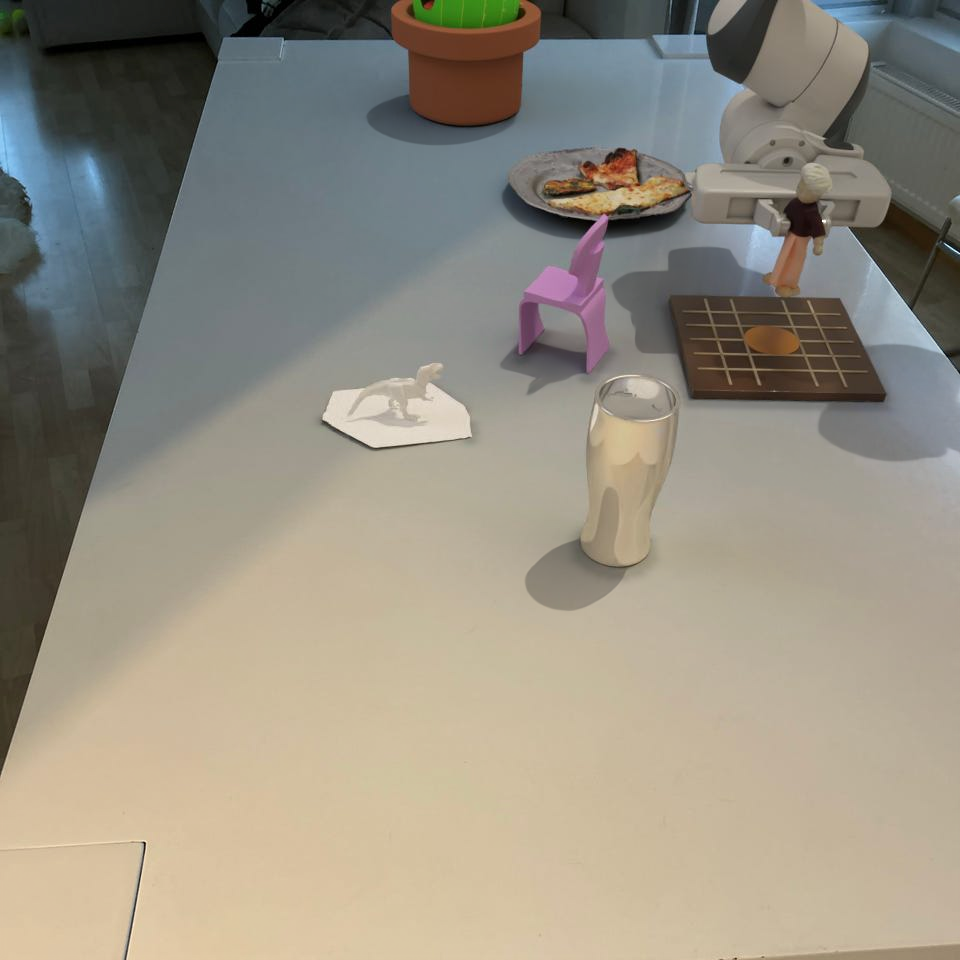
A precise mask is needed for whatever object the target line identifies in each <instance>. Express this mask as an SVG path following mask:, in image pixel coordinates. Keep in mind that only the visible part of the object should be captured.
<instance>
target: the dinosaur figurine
mask: <svg viewBox="0 0 960 960" xmlns="http://www.w3.org/2000/svg"><path fill="white" fill-rule="evenodd" d="M443 370H444V365H443V364H442V363H441V362H436V363H435V362H432V363H430V364H427V365H423V366H419V369H418V371H417V373H416V379H414V378H412V377H408V378H400V377H398V376H397V377H393V378H392V377H391V378H390V379H383V380H380V381H377V382H374V383H372V384H371V385H368V386H366V387H364V388H354V389H340V390H333V392H332V395H331V396H330V398H329V401H328V405H327V406H326V409H325V411H324V413H323V414H322V421H324V422H327V423H328V424H329V425H330V426H331V427H334V428H335V429H337V430H339V431H341V432H342V433H344V434H346V435H348V436H350V437H352V438H354V439H356V440H357V441H360V442H361V443H364V444H365V445H367V446H369V447H371V448H375V449H376V448H377V449H378V448H385V447H395V446H405V445H414V444H417V445H418V444H422V443H423V444H426V443H434V442H443V441H452V440H459V439H466V438H473V434H472V431H471V416H470V414H469V412H468V410H467V408H466V406H465V405H464V404H462V403H461V402H459V401H458V400H456V399H455V398H453V397H452V396H451V395H449V394H448V393H446V392H445V391H444V390H442V389H440V388H439V387H437V386H436V385H435V384H433V383H432V382H431V381H432V380H439V379H442V375H440V374H438V373H439V372H441V371H443Z"/></svg>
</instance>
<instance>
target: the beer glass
mask: <svg viewBox="0 0 960 960" xmlns="http://www.w3.org/2000/svg"><path fill="white" fill-rule="evenodd" d="M681 400H682V399H681V396H680V394H679V392H678V391H677V389H676V388H675V387H674V386H673V385H672V384H670V383H668V381H665V380H663V379H661V378H658V377H656V376H652V375H648V374H643V373H642V374H641V373H623V374H617V375H613V376H611V377H608V378H606V379H604V380H603V381H601V383H599V384H598V386H597V387H596V389H595V392H594V399H593V404H592V409H591V411H590V417H589V423H588V429H587V436H586V444H585V445H586V447H585V467H586V479H587V490H588V512H587V516H586V519H585V522H584V525H583V528H582V530H581V534H580V541H579V542H580V546H581V549H582V551H583V552H584V553H585V555H587V557H589V558H590V559H592V560H593V561H595V562H597V563H599V564H601V565H605V566H608V567H615V568H616V567H617V568H621V567H622V568H623V567H628V566H632V565H635V564H637V563H640V562H641V561H643V560H644V559H645V558H646V556H648V554H649V552H650V549H651V518H652V513H653V510H654V508H655V505H656V502H657V500H658V497H659V495H660V493H661V491H662V489H663V486H664V483H665V482H666V480H667V476H668V473H669V470H670V467H671V464H672V461H673V458H674V452H675V447H676V441H677V436H678V426H679V416H680V415H679V414H680V407H681V403H682V402H681Z"/></svg>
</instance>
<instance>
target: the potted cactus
mask: <svg viewBox="0 0 960 960" xmlns="http://www.w3.org/2000/svg"><path fill="white" fill-rule="evenodd" d="M390 18H391V19H390V21H391V37H392V39H393V41H394V43H396V44H397V45H398V46H400V47H402V48H403V49H405V50H407V56H408V57H407V59H408V87H409V88H408V89H409V104H410V107H411V108H412V110H413V111H414V112H415V113H416V114H418V116H421V117H423V118H425V119H428V120H429V121H433V122H436V123H440V124H445V125H451V126H459V127H471V126H472V127H473V126H483V125H490V124H494V123H498V122H501V121H504V120H507V119H509V118H511V117H512V116H514V115H516V114H517V113H518V111H519V110H520V109H521V106H522V95H523V94H522V93H523V75H524V73H523V72H524V71H523V70H524V54H525V52H526V51H529V50H531V49H533V48H534V47H536V46H537V45H538V43H539V42H540V38H541V21H542V20H541V19H542V11H541V9H540V8H539V7H538V6H537V5H535V4H534V3H532V2H530V1H529V0H398V1H397V2H396V3H394V4H393V5H392V7H391V9H390Z"/></svg>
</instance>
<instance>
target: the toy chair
mask: <svg viewBox="0 0 960 960" xmlns="http://www.w3.org/2000/svg"><path fill="white" fill-rule="evenodd" d="M608 223H609V220H608V217H607V216H606V215H605V214H603V215H602V216H601V218H600V219H599V220H598V221H595V223H594V224H593V225H591V226H590V228H589V229H588V230H587V232H585V234H584V235H583V236H582V238H581V239H580V240H579V241H578V243H577V245H576V246H575V249H574V251H573V253H572V257H571V261H570V266H569V268H568V270H566V269H563V268H559V267H556V266H551V265H547V267H545V268H544V269H543V270H542V272H541V273H540V275H539V276H538V277H537V278H536V279H535V280H534V281H533V282H532V283H531V284H529V285H528V286H527V288H526V289H524V291H523V298H522V299H521V300H520V302H519V305H518V355H521V356H522V355H523V354H525V352H526V351H527V350H528V349H529V348H530V346H531V345H532V344H533V343H534V342H535V341H536V340H537V339H538V337H539V336H540V335H541V334H542V333H543V331H544V330H545V326H544V323H543V320H542V318H541V313H540V308H539V307H540V306H539V304H540V305H541V304H542V305H547V306H552V307H555V308H558V309H561V310H564V311H565V312H566V311H567V312H570V313H572V314H574V315H577V316H578V317H579V319H580V321H581V323H582V326H583V330H584V333H585V341H586V367H585V369H586V371H585V372H586V373H587V374H590V373H591V372H592V371H593V369H594V368H595V367H596V366H597V364H598V363H599V362H600V361H601V359H602V358H603V356H604V355H605V354H606V353H607V351H608V350H609V348H611V343H610V340H609V337H608V334H607V330H606V322H605V321H606V319H605V317H606V301H607V294H606V290H605V288H604V278H601V277H598V273H599V269H600V265H601V261H602V257H603V253H604V249H605V246H606V243H605V242H602V241H603V239H604V238H605V234H606V231H607V227H608Z"/></svg>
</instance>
